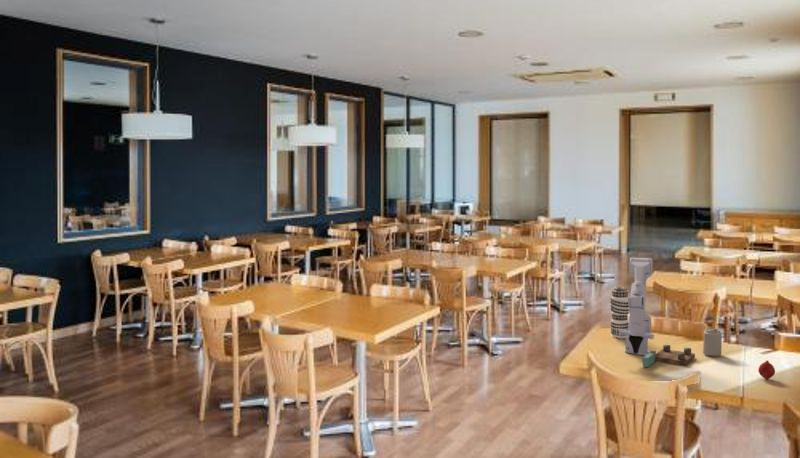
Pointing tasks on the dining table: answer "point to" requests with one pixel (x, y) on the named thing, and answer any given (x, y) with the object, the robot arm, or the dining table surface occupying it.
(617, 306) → the grey patterned cylinder piece
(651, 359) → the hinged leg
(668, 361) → the stool seat
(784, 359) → the dining table surface
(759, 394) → the dining table surface
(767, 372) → the onion
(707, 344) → the can
